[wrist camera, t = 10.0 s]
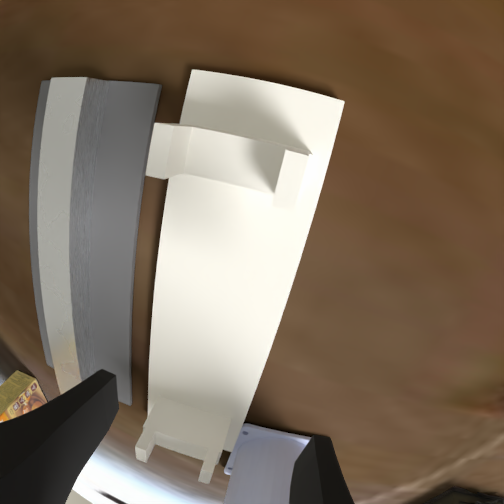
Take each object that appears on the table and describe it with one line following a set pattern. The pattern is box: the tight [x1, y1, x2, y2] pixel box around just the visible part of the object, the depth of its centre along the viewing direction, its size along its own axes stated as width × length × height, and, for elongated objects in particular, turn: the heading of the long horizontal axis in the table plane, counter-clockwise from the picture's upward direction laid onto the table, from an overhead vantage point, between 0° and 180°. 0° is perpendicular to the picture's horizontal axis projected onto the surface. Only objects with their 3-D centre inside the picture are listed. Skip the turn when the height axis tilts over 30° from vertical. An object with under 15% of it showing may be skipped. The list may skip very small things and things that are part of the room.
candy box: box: [0, 370, 47, 423], centre depth 23 cm, size 9×4×15 cm, turn 1°
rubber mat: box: [29, 80, 162, 406], centre depth 21 cm, size 26×10×1 cm, turn 167°
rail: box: [37, 77, 110, 394], centre depth 20 cm, size 26×3×2 cm, turn 167°
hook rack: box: [135, 69, 345, 484], centre depth 17 cm, size 28×8×6 cm, turn 167°
